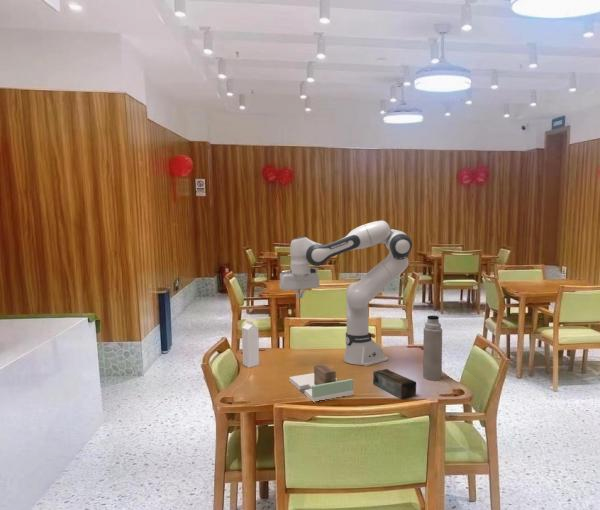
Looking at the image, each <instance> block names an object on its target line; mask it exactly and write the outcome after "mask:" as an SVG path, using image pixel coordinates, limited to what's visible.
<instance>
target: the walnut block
mask: <svg viewBox="0 0 600 510" xmlns="http://www.w3.org/2000/svg"><path fill="white" fill-rule="evenodd" d="M313 370H314V371H313V373H314V384H315V385H319V384H325V383H331V382H336V378H337V375H336V374H337V371H336V370H334V369H333V368H331V367H330V366H328V365H327V364H326V363H322V364H317V365H316V364H315V365H313Z"/></svg>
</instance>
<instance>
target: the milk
mask: <svg viewBox="0 0 600 510" xmlns="http://www.w3.org/2000/svg"><path fill="white" fill-rule="evenodd" d="M241 338H242V339H241V341H242V343H241V344H242V345H241V346H242V365H243V366H244V367H247V368H252V367H256V366H260V350H259V349H260V345H259V327H258V326H256V325H254V321H250V320H246V323H245V324H244V325H243V326H242V327H241Z"/></svg>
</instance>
